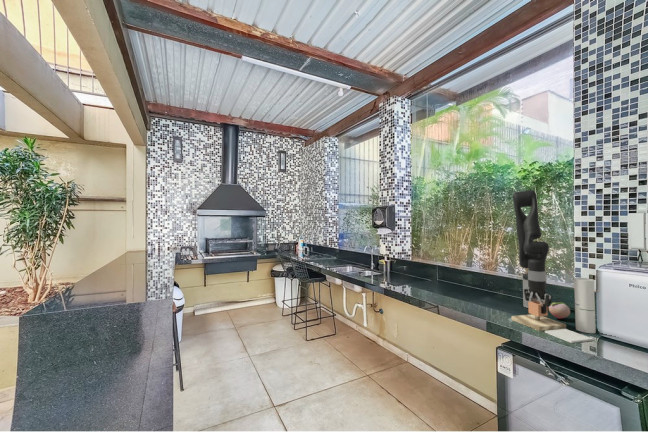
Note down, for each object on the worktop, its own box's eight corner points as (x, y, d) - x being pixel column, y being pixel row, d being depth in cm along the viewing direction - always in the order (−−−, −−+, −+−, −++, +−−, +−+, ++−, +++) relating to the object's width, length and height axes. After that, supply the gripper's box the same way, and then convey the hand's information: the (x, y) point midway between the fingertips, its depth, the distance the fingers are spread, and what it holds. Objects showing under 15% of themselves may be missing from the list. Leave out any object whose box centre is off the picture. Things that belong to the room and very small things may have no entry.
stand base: (536, 317, 155) (536, 314, 155) (566, 328, 139) (566, 324, 139) (511, 319, 152) (511, 316, 152) (539, 331, 136) (539, 326, 136)
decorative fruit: (562, 323, 146) (561, 303, 147) (546, 317, 154) (545, 299, 155) (574, 321, 149) (574, 302, 149) (558, 316, 157) (557, 298, 157)
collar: (537, 312, 149) (537, 300, 149) (547, 315, 143) (547, 303, 143) (528, 312, 148) (528, 301, 148) (538, 316, 142) (538, 304, 142)
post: (537, 319, 147) (537, 306, 147) (541, 320, 145) (540, 308, 145) (534, 319, 146) (533, 307, 146) (537, 320, 144) (537, 308, 144)
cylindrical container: (585, 327, 140) (583, 277, 141) (600, 333, 133) (598, 280, 133) (571, 327, 140) (570, 277, 140) (585, 333, 133) (583, 280, 133)
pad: (565, 330, 137) (565, 328, 137) (593, 340, 125) (593, 338, 125) (545, 332, 134) (544, 330, 134) (571, 343, 123) (571, 341, 123)
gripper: (556, 281, 140) (557, 315, 139) (530, 276, 154) (531, 306, 153) (544, 282, 138) (545, 316, 138) (518, 277, 152) (519, 308, 152)
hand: (537, 311), depth 146 cm, fingers closed on collar, 5 cm apart
